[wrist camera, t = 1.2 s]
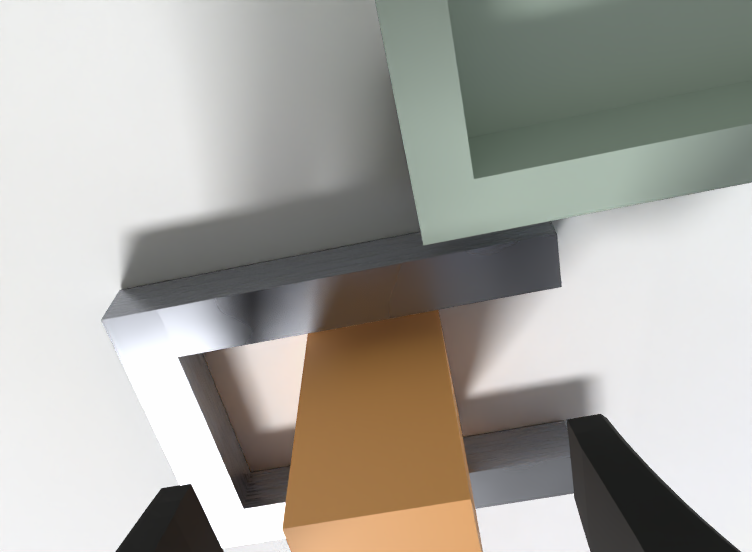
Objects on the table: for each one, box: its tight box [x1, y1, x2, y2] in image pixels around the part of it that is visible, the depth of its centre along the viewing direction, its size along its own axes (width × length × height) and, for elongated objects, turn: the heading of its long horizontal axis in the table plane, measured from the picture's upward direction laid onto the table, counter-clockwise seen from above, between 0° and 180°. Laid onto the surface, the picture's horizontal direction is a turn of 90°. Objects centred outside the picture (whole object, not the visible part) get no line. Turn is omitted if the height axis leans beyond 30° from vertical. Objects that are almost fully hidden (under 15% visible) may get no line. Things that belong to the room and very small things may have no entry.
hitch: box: [101, 221, 574, 548], centre depth 16 cm, size 9×7×1 cm
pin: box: [282, 310, 483, 552], centre depth 14 cm, size 3×3×6 cm
